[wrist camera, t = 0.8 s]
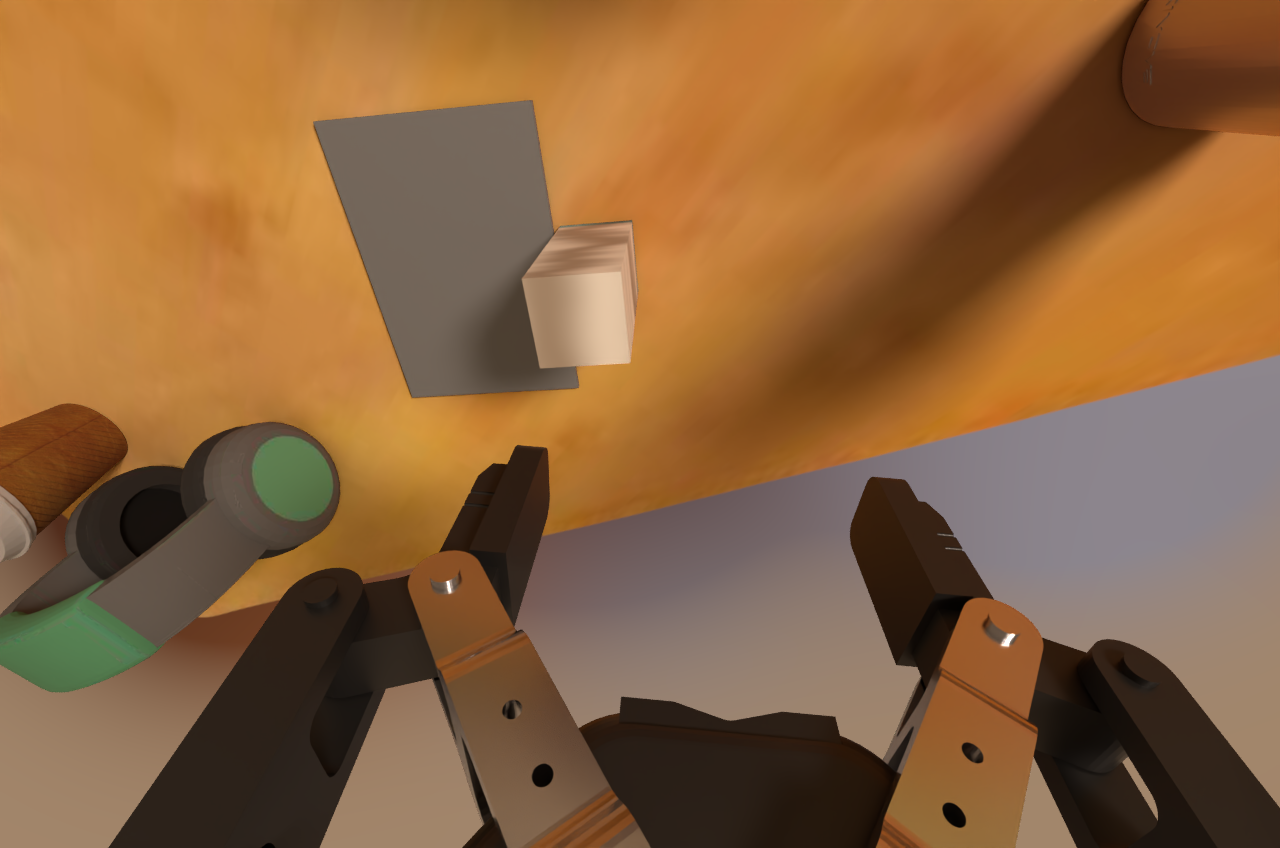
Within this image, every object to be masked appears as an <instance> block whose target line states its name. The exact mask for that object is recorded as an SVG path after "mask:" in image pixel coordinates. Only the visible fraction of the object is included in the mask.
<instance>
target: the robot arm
mask: <svg viewBox="0 0 1280 848" xmlns="http://www.w3.org/2000/svg"><path fill="white" fill-rule="evenodd" d="M1122 85H1123V90H1124V95H1125V98H1126V100H1127V102H1128V104H1129V106H1130V108H1131V110H1132V111H1133V112H1134V113H1135V114H1136V115H1138V116H1139V117H1140V118H1141V119H1142V120H1144V121H1146V122H1148V123H1151V124H1153V125H1156V126H1163V127H1171V128H1184V129H1197V130H1210V131H1219V132H1231V133H1244V134H1257V135H1270V136H1280V0H1149V1H1148V2H1147V4H1146V6H1145V7H1144V9H1143V11H1142V12H1141V14H1140V16H1139V17H1138V19H1137V21H1136V23H1135V26H1134V28H1133V30H1132V33H1131V35H1130V37H1129V40H1128V43H1127V47H1126V51H1125V55H1124V59H1123V66H1122ZM549 500H550V491H549V465H548V450H547V448H544V447H533V446H521V445H517V446H516V447H515V449H514V451H513V453H512V455H511V458H510V460H509V462H508V464H495V463H493V464H492V465H491V466H490V467H488V468H487V469H486V470H485V471H484V472H482V473H481V474H480V475H479V476H478V478H477V479H476V481H475V483H474V485H473V487H472V489H471V493H470V494H469V495H468V497H467V499H466V501H465V505H464V506H463V507H462V509H461V511H460V513H459V515H458V517H457V519H456V521H455V523H454V525H453V527H452V528H451V530H450V532H449V534H448V536H447V538H446V540H445V542H444V544H443V546H442V548H441V550H440V552H439V553H437V554H434V555H432V556H429V557H428V558H426V559H424V560H423V561H422V562H420V563H419V564H418V565H417V566H416V567H415V568H414V570H413V571H412V573H411V575H408V576H405V577H401V578H396V579H391V580H385V581H379V582H373V583H367V584H363V583H362V580H361V578H360V576H359V575H358V574H357V573H355V572H354V571H352V570H349V569H345V568H330V569H324V570H320V571H317V572H315V573H312V574H310V575H308V576H306V577H304V578H302V579H301V580H299V581H298V582H296V583H295V584H294V585H293V586H292V587H291V588H289V589H288V591H287V592H286V593H285V594H284V596H283V597H282V598H281V600H280V601H279V603H278V604H277V606H276V607H275V609H274V610H273V611H272V613H271V614H270V616H269V617H268V619H267V620H266V622H265V623H264V624H263V626H262V627H261V629H260V630H259V632H258V633H257V634H256V636H255V638H254V639H253V640H252V642H251V643H250V645H249V646H248V648H247V649H246V650H245V652H244V653H243V655H242V656H241V658H240V659H239V660H238V662H237V663H236V665H235V666H234V668H233V669H232V671H231V672H230V673H229V675H228V676H227V678H226V679H225V681H224V682H223V683H222V685H221V686H220V688H219V689H218V691H217V692H216V694H215V695H214V696H213V698H212V699H211V701H210V702H209V704H208V705H207V707H206V708H205V710H204V711H203V712H202V714H201V715H200V717H199V718H198V719H197V721H196V722H195V724H194V725H193V727H192V728H191V730H190V731H189V732H188V734H187V735H186V737H185V738H184V740H183V741H182V743H181V744H180V745H179V747H178V748H177V750H176V751H175V753H174V754H173V755H172V757H171V759H170V760H169V762H168V763H167V764H166V766H165V767H164V768H163V770H162V771H161V773H160V774H159V776H158V777H157V779H156V780H155V782H154V783H153V784H152V786H151V787H150V789H149V790H148V791H147V793H146V794H145V796H144V797H143V799H142V800H141V802H140V803H139V805H138V806H137V807H136V809H135V810H134V812H133V813H132V815H131V816H130V817H129V819H128V820H127V822H126V823H125V825H124V826H123V827H122V829H121V831H120V832H119V833H118V835H117V836H116V838H115V839H114V841H113V842H112V843H111V845H110V846H109V848H320V845H321V843H322V840H323V838H324V835H325V833H326V831H327V828H328V826H329V824H330V821H331V819H332V816H333V814H334V812H335V809H336V807H337V804H338V802H339V799H340V797H341V795H342V792H343V790H344V788H345V785H346V783H347V780H348V778H349V776H350V773H351V771H352V769H353V766H354V764H355V761H356V759H357V757H358V754H359V752H360V749H361V747H362V745H363V742H364V740H365V738H366V735H367V732H368V730H369V728H370V725H371V723H372V721H373V718H374V716H375V714H376V711H377V709H378V706H379V704H380V702H381V699H382V697H383V694H384V692H385V689H386V688H391V687H395V686H400V685H404V684H409V683H414V682H418V681H422V680H427V679H431V678H432V680H433V682H434V685H435V688H436V691H437V694H438V696H439V699H440V702H441V705H442V708H443V711H444V713H445V716H446V719H447V722H448V724H449V727H450V730H451V733H452V736H453V739H454V741H455V744H456V747H457V750H458V753H459V756H460V759H461V762H462V765H463V769H464V772H465V775H466V778H467V782H468V784H469V788H470V791H471V793H472V796H473V799H474V802H475V805H476V808H477V811H478V813H479V816H480V819H481V822H482V825H483V826H482V827H481V828H480V829H479V830H478V831H477V832H476V833H475V835H474V836H473V837H472V838H471V839H470V840H469V841H468V842H467V843H466V844H465V845H464V846H463V848H1015V847H1016V841H1017V837H1018V832H1019V827H1020V821H1021V816H1022V811H1023V806H1024V801H1025V796H1026V791H1027V786H1028V781H1029V776H1030V771H1031V766H1032V761H1033V756H1034V758H1035V761H1036V763H1037V765H1038V767H1039V769H1040V771H1041V773H1042V775H1043V777H1044V779H1045V781H1046V783H1047V786H1048V788H1049V790H1050V792H1051V794H1052V796H1053V798H1054V800H1055V802H1056V805H1057V807H1058V808H1059V811H1060V813H1061V815H1062V817H1063V819H1064V821H1065V823H1066V825H1067V827H1068V830H1069V832H1070V834H1071V836H1072V838H1073V840H1074V842H1075V844H1076V846H1077V848H1280V808H1279V806H1278V805H1277V804H1276V802H1275V801H1274V800H1273V799H1272V797H1271V796H1270V795H1269V794H1268V792H1267V791H1266V790H1265V789H1264V787H1263V786H1262V785H1261V784H1260V782H1259V781H1258V780H1257V778H1256V777H1255V776H1254V774H1253V773H1252V772H1251V771H1250V770H1249V768H1248V767H1247V766H1246V764H1245V763H1244V762H1243V760H1242V759H1241V758H1240V757H1239V756H1238V754H1237V753H1236V752H1235V750H1234V749H1233V748H1232V747H1231V745H1230V744H1229V743H1228V741H1227V740H1226V739H1225V738H1224V736H1223V735H1222V734H1221V732H1220V731H1219V730H1218V729H1217V728H1216V726H1215V725H1214V724H1213V722H1212V721H1211V720H1210V718H1209V717H1208V716H1207V715H1206V713H1205V712H1204V711H1203V710H1202V708H1201V707H1200V706H1199V704H1198V703H1197V702H1196V701H1195V700H1194V698H1193V697H1192V696H1191V694H1190V693H1189V692H1188V691H1187V689H1186V688H1185V687H1184V685H1183V684H1182V683H1181V682H1180V680H1179V679H1178V678H1177V677H1176V676H1175V674H1173V672H1171V670H1170V669H1169V668H1167V667H1166V666H1165V665H1164V664H1163V663H1161V662H1160V661H1159V660H1158V659H1156V658H1155V657H1153V656H1152V655H1150V654H1149V653H1147V652H1145V651H1144V650H1142V649H1140V648H1137V647H1135V646H1133V645H1131V644H1128V643H1125V642H1121V641H1117V640H1110V639H1106V640H1100V641H1098V642H1096V643H1095V644H1094V645H1093V646H1092V648H1091V649H1090V650H1089V651H1088V652H1087V653H1086V652H1083V651H1080V650H1077V649H1074V648H1071V647H1068V646H1065V645H1062V644H1059V643H1056V642H1053V641H1050V640H1047V639H1044V638H1042V637H1041V635H1040V633H1039V631H1038V630H1037V629H1036V627H1035V626H1034V625H1033V623H1032V622H1030V621H1029V619H1028V618H1026V617H1025V616H1024V615H1023V614H1022V613H1020V612H1019V611H1017V610H1016V609H1014V608H1012V607H1011V606H1009V605H1007V604H1004V603H1002V602H999V601H997V600H994V599H993V597H992V595H991V594H990V592H989V590H988V589H987V587H986V586H985V584H984V582H983V581H982V579H981V578H980V576H979V575H978V573H977V571H976V570H975V568H974V566H973V565H972V563H971V561H970V560H969V558H968V556H967V555H966V553H965V552H964V551H962V547H961V545H960V544H959V542H958V540H957V539H956V538H955V537H953V532H952V531H951V529H950V527H949V526H948V524H947V522H946V521H945V519H944V518H943V517H942V516H941V515H940V514H939V513H938V512H937V511H935V510H934V509H933V508H932V507H931V506H930V505H928V504H927V503H926V502H920V501H918V500H917V498H916V496H915V495H914V493H913V491H912V489H911V488H910V486H909V484H908V483H907V482H906V481H905V480H902V479H891V478H880V477H871V478H870V479H869V480H868V482H867V484H866V486H865V489H864V491H863V494H862V497H861V499H860V502H859V505H858V507H857V510H856V512H855V515H854V518H853V520H852V523H851V529H850V541H851V546H852V549H853V552H854V555H855V557H856V560H857V563H858V565H859V568H860V571H861V573H862V576H863V578H864V581H865V584H866V586H867V589H868V592H869V594H870V597H871V600H872V602H873V604H874V607H875V610H876V613H877V615H878V618H879V621H880V623H881V626H882V628H883V631H884V633H885V637H886V639H887V642H888V644H889V647H890V650H891V652H892V655H893V658H894V660H895V663H896V665H903V666H913V667H918V670H919V672H920V675H921V677H920V679H919V681H918V682H917V684H916V686H915V688H914V691H913V693H912V695H911V697H910V700H909V702H908V704H907V707H906V709H905V711H904V714H903V716H902V718H901V721H900V723H899V725H898V728H897V730H896V733H895V734H894V737H893V739H892V741H891V744H890V746H889V748H888V750H887V752H886V755H885V756H884V758H883V760H882V759H880V758H879V757H878V756H876V755H875V754H873V753H872V752H871V751H869V750H868V749H866V748H864V747H863V746H861V745H859V744H857V743H855V742H853V741H851V740H849V739H847V738H845V737H842V736H840V734H839V730H838V726H837V722H836V718H835V717H832V716H822V715H811V714H800V713H789V712H779V713H773V714H768V715H763V716H757V717H751V718H746V719H740V720H734V721H727V720H723V719H721V718H718V717H715V716H712V715H709V714H707V713H704V712H701V711H698V710H695V709H693V708H690V707H687V706H684V705H682V704H679V703H676V702H671V701H661V700H651V699H640V698H629V697H621V705H620V713H618V714H613V715H608V716H605V717H602V718H599V719H596V720H594V721H591V722H589V723H587V724H585V725H583V726H582V727H580V728H578V727H577V725H576V723H575V721H574V720H573V718H572V716H571V714H570V712H569V710H568V708H567V706H566V705H565V703H564V701H563V699H562V697H561V696H560V694H559V692H558V690H557V688H556V686H555V684H554V683H553V681H552V679H551V677H550V675H549V674H548V672H547V670H546V668H545V666H544V664H543V663H542V661H541V659H540V657H539V655H538V653H537V652H536V650H535V648H534V646H533V644H532V642H531V641H530V639H529V637H528V636H527V635H526V633H525V632H524V631H523V630H519V631H516V629H515V628H514V626H515V623H516V619H517V616H518V612H519V609H520V606H521V602H522V599H523V596H524V593H525V589H526V586H527V583H528V579H529V576H530V572H531V569H532V566H533V562H534V560H535V556H536V553H537V550H538V546H539V543H540V540H541V536H542V533H543V530H544V526H545V523H546V520H547V515H548V510H549ZM1127 757H1129V758H1130V760H1131V761H1132V763H1133V765H1134V766H1135V768H1136V770H1137V771H1138V773H1139V774H1140V776H1141V778H1142V779H1143V781H1144V782H1145V784H1146V786H1147V787H1148V789H1149V791H1150V792H1151V794H1152V796H1153V798H1154V800H1155V803H1156V806H1157V810H1158V821H1157V819H1156V817H1155V816H1154V814H1153V812H1152V811H1151V809H1150V807H1149V806H1148V804H1147V802H1146V801H1145V799H1144V797H1143V796H1142V794H1141V792H1140V791H1139V790H1138V788H1137V786H1136V784H1135V782H1134V781H1133V779H1132V778H1131V776H1130V774H1129V773H1128V771H1127V770H1126V768H1125V766H1124V764H1123V763H1122V762H1123V761H1124V760H1125V759H1126V758H1127Z"/></svg>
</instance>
